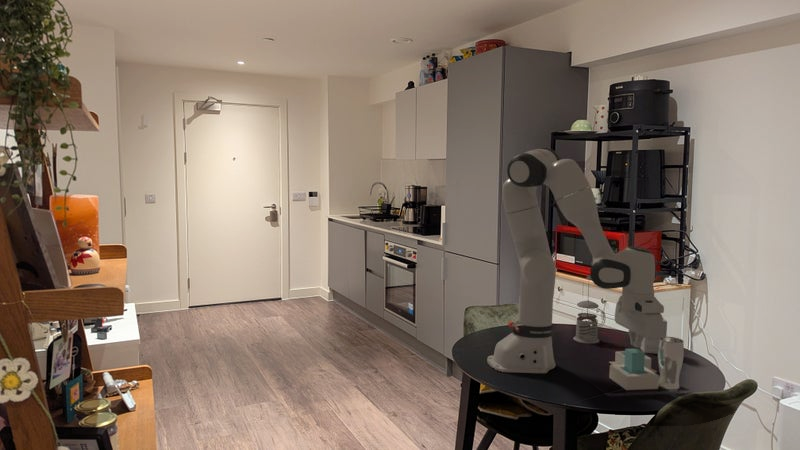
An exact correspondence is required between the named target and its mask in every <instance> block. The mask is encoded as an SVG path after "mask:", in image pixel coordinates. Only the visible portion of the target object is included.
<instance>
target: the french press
mask: <svg viewBox="0 0 800 450" xmlns="http://www.w3.org/2000/svg"><path fill="white" fill-rule="evenodd" d="M586 280H588V281H590V280H591V281H592V279H591V276H586ZM587 287H588V289H587V290H588V291H587V297H590V295H589V292H590V284H588V286H587ZM576 305H577V307H579V308H583V309H587V311H586V312H579V313H577V317H576V323H575V324H576V326H575V336H574V337H573V340H574V341H576V342H578V343H581V344H582V343H583V344H598V343H600V339H599V338H598V334H599V331H598V330H599V329H600V328H601V327H603V326H604V325H605V322H606V319H605V317H606V314H605V312H604V311H603V310H602V309H600V308H599V304H597V303H596V302H594V301H592V300H589V299H587V300H583V301H580V302H579V301H578V303H576ZM590 309H591V310H592V309H594V310H595V309H596V310H597V311H596V313H599V311H600V312H601V314H602V319H603V320H602V321H601V323H600V324H598V323H599V322H598V321H599V320H598V319H597V317H598V315H596V314H594V313H589V310H590Z"/></svg>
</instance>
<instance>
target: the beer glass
mask: <svg viewBox="0 0 800 450" xmlns="http://www.w3.org/2000/svg"><path fill="white" fill-rule="evenodd" d="M684 346H685V344H684V340H683V339H682V338H679V337H673V336H666V337H661V338H660V339H659V345H658V354H657V362H658V369H659V371H658V372H659V383H658V387H660V388H662V389H666V390H664V392H669V393H677V392H680V373H681V371H682V366H683V363H684V362H683V361H684V357H685V356H684V354H685V351H684V350H685V347H684Z"/></svg>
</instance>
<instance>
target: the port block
mask: <svg viewBox="0 0 800 450" xmlns="http://www.w3.org/2000/svg"><path fill="white" fill-rule="evenodd" d="M659 376H660V374H657V372H652V371H651V370H649V369H647V368H646V367H644V373H643V374H629V373H628V372H626V371H625V370H624V365H612V364H610V365H609V376H608V378H609V379H610V380H611V381H612V382H614V383H615V384H616V385H618V386H620V387H621V388H622V389H623V390H625V394H638V393H643V394H644V393H658V392H659V391H658V390H659V385H658V383H659Z"/></svg>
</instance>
